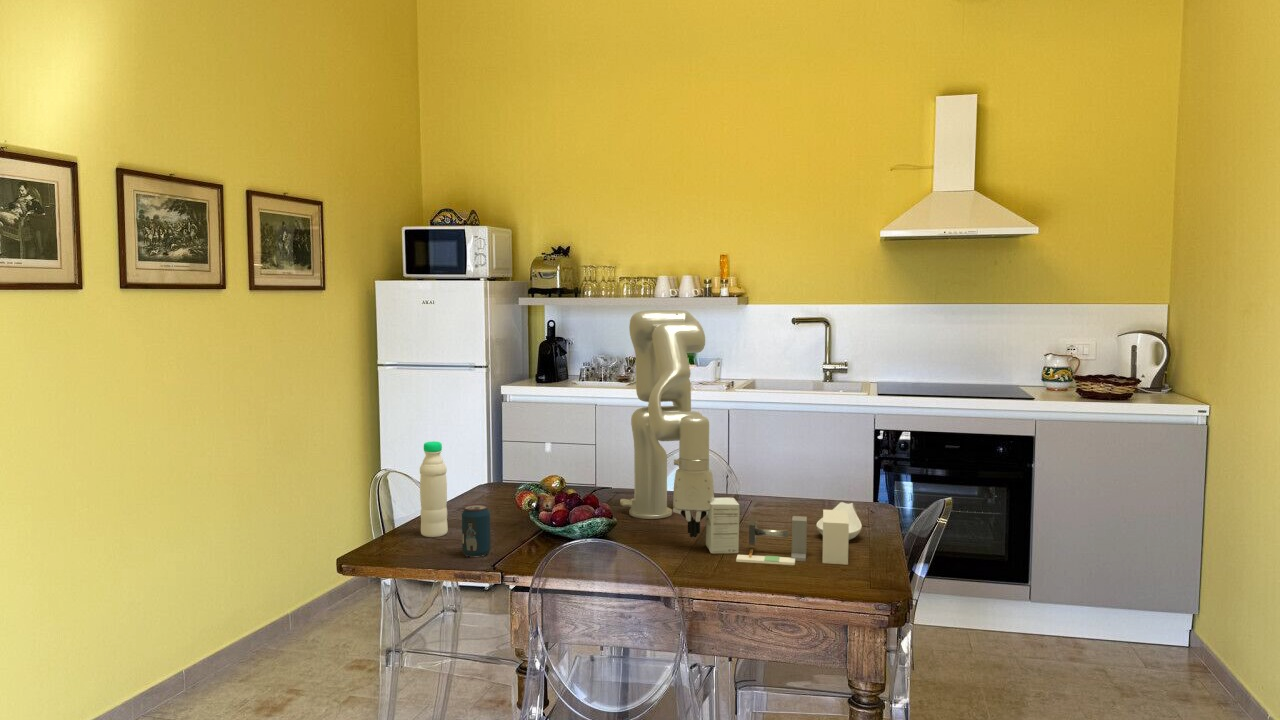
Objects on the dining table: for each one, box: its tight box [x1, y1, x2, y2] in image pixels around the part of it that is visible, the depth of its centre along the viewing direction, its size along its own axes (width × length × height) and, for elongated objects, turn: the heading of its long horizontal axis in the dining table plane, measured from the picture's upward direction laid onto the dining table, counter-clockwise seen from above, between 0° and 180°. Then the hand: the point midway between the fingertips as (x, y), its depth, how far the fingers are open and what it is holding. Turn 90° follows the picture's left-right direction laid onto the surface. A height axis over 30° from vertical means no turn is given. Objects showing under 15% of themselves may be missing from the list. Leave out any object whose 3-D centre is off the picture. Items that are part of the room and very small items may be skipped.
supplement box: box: [705, 497, 740, 554], centre depth 231 cm, size 7×7×13 cm
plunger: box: [748, 518, 789, 556], centre depth 226 cm, size 10×10×6 cm
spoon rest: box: [816, 501, 863, 541], centre depth 247 cm, size 24×12×7 cm, turn 159°
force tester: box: [735, 509, 849, 566], centre depth 226 cm, size 26×16×10 cm, turn 78°
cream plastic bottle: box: [419, 440, 449, 538], centre depth 244 cm, size 7×7×25 cm
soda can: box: [461, 503, 492, 557], centre depth 227 cm, size 7×7×12 cm
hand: (693, 535), depth 232 cm, fingers closed
